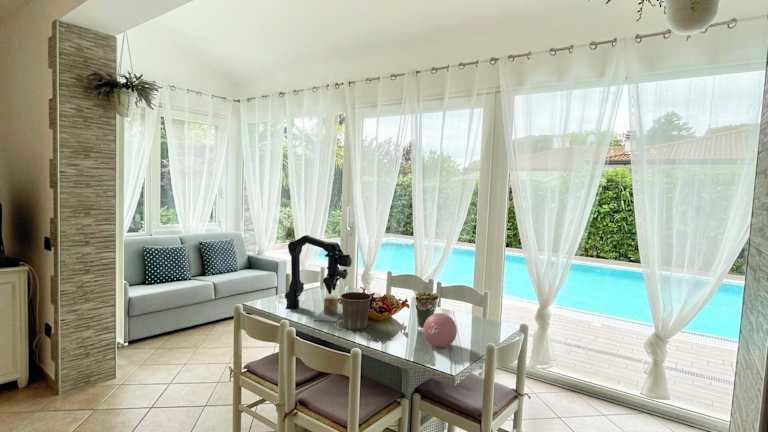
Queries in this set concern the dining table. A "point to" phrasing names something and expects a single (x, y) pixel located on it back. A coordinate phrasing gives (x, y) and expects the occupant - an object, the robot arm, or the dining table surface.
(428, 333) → the pink ball
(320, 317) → the mat
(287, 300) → the robot arm
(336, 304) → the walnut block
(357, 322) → the plant pot
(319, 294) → the dining table surface
